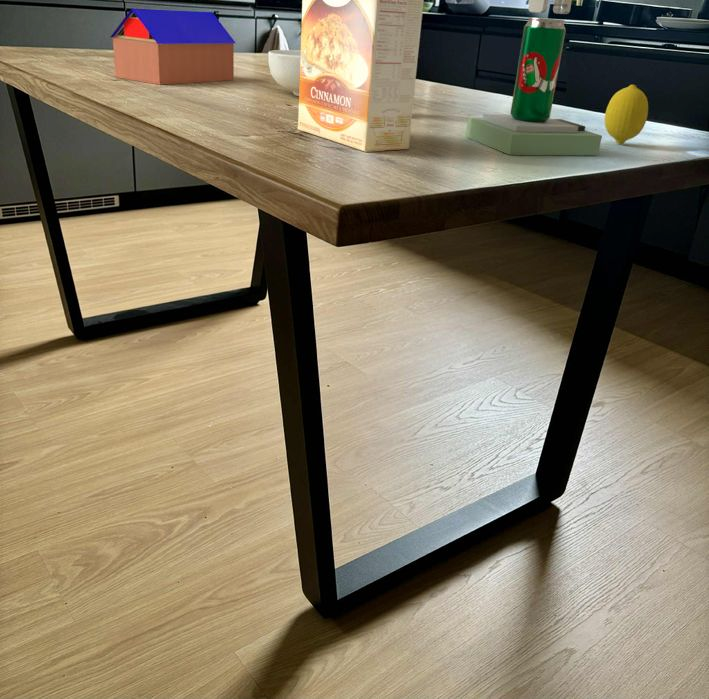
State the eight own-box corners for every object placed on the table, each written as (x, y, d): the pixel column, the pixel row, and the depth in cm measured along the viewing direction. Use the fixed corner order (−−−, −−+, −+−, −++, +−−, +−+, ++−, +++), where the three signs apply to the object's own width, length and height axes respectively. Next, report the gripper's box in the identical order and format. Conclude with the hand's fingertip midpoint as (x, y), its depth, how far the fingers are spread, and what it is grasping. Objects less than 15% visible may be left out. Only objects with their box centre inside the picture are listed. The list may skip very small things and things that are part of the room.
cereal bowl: (334, 89, 137) (336, 50, 134) (381, 102, 124) (385, 59, 121) (252, 89, 129) (252, 46, 125) (294, 103, 116) (295, 56, 113)
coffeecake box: (295, 130, 93) (301, -40, 85) (340, 128, 97) (350, -35, 88) (363, 152, 82) (378, -40, 74) (410, 149, 86) (429, -33, 78)
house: (112, 77, 131) (107, 6, 125) (191, 73, 146) (189, 9, 141) (159, 84, 125) (156, 11, 120) (236, 79, 140) (235, 14, 135)
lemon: (627, 141, 104) (640, 83, 101) (647, 148, 99) (662, 88, 96) (592, 139, 103) (604, 81, 100) (611, 147, 98) (624, 85, 95)
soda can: (534, 116, 96) (551, 18, 91) (556, 123, 92) (575, 20, 87) (502, 116, 94) (517, 16, 89) (523, 122, 90) (540, 18, 85)
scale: (547, 138, 102) (551, 113, 100) (598, 155, 92) (603, 129, 90) (465, 136, 98) (468, 111, 96) (509, 155, 88) (513, 127, 86)
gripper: (572, -139, 72) (548, 13, 78) (619, -108, 88) (596, 16, 94) (512, -137, 75) (494, 10, 81) (568, -108, 91) (549, 13, 97)
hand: (549, 13), depth 88 cm, fingers open, 8 cm apart
